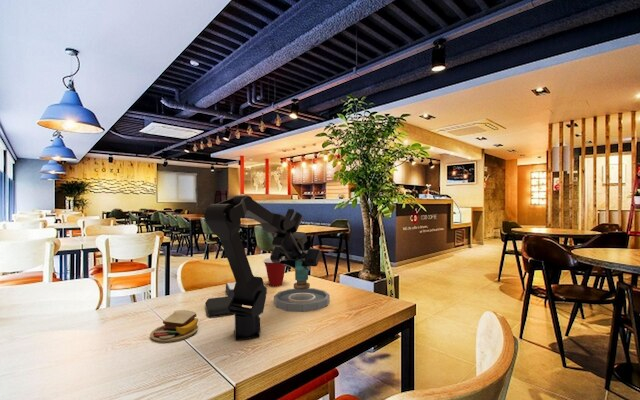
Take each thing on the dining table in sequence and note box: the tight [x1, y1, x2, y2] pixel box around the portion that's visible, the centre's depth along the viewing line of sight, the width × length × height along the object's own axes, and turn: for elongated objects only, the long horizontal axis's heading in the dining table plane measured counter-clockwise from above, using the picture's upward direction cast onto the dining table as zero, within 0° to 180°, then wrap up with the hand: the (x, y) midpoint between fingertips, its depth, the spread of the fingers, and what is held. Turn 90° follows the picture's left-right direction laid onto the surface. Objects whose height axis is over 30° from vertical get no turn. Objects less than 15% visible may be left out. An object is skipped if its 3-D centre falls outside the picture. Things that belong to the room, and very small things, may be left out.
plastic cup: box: [262, 257, 286, 287], centre depth 144 cm, size 11×11×12 cm
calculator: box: [225, 282, 268, 298], centre depth 133 cm, size 11×4×15 cm
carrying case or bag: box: [204, 295, 234, 318], centre depth 113 cm, size 11×3×15 cm
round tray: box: [273, 287, 331, 313], centre depth 120 cm, size 20×20×2 cm
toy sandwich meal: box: [149, 309, 199, 343], centre depth 93 cm, size 12×14×5 cm
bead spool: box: [293, 258, 311, 290], centre depth 120 cm, size 6×6×13 cm
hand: (303, 268), depth 121 cm, fingers closed on bead spool, 5 cm apart
